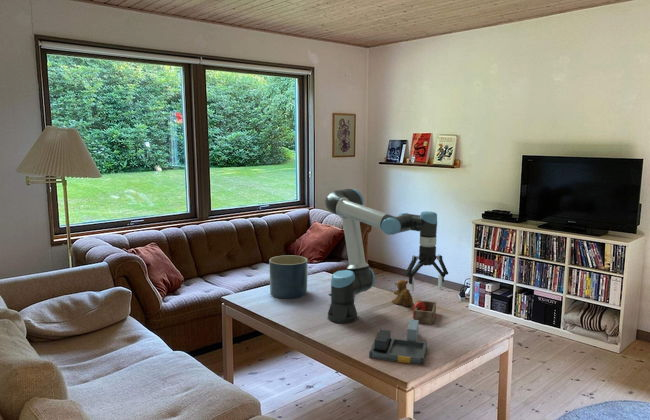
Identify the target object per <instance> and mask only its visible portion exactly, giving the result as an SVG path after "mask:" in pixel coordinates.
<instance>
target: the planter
mask: <svg viewBox="0 0 650 420" xmlns="http://www.w3.org/2000/svg"><path fill="white" fill-rule="evenodd" d="M268 263H269V264H268V265H269V266H268V268H269V270H268V272H269V289H270V290H269V291H270V292H269V293H270V295H271V296H272V297H273V298H277V299H280V300H281V299H282V300H294V299H299V298H302V297H305V296H306V295H307V293H308V291H307V290H308V269H309V267H308V265H309V264H308V263H309V261H308V258H307V257H304V256H302V255H292V254H291V255H289V254H288V255H287V254H286V255H285V254H284V255H279V256H278V255H277V256H273V257H270V259H269V261H268Z"/></svg>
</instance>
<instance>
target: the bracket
mask: <svg viewBox="0 0 650 420" xmlns="http://www.w3.org/2000/svg"><path fill="white" fill-rule="evenodd" d="M419 306H420V307H421V309H420V311H425V305H424V303H422V302H416V303H415V304H414V305H413V307H412V319H414V310H415V307H419ZM435 318H437V314H435Z"/></svg>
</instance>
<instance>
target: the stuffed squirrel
mask: <svg viewBox="0 0 650 420" xmlns="http://www.w3.org/2000/svg"><path fill="white" fill-rule="evenodd" d="M407 284H409V280H404V279H400V280H398V281H397V282H396V283H395V284H394V287H397V289H396V290H393V294H394V295H396V297H394V299H392V300H391V303H392V304H394V305H399V306H404V307H412V306H413V304H414V302H413V301H414V300H413V296H412V294H411V292H410V291H411V290H410V289H408V288H407Z"/></svg>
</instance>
